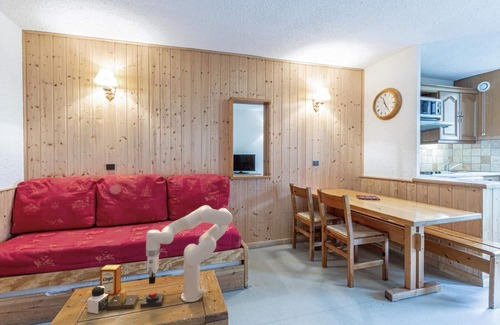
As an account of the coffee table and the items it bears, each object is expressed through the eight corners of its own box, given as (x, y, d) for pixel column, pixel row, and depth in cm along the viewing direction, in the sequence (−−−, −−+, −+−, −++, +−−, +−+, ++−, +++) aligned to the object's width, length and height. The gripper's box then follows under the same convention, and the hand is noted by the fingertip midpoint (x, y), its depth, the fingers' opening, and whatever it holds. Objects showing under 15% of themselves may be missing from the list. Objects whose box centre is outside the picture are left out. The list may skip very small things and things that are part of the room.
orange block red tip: (123, 297, 145) (123, 288, 145) (126, 297, 145) (126, 288, 145) (119, 303, 139) (119, 293, 139) (123, 302, 139) (123, 293, 139)
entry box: (163, 297, 150) (163, 290, 150) (160, 306, 141) (161, 299, 141) (144, 298, 148) (144, 292, 148) (140, 307, 139) (140, 300, 139)
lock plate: (138, 298, 148) (138, 294, 148) (133, 308, 138) (133, 303, 138) (113, 300, 146) (113, 296, 146) (106, 310, 136) (106, 306, 136)
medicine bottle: (98, 314, 133) (98, 292, 133) (87, 312, 134) (87, 290, 134) (108, 306, 140) (108, 285, 140) (97, 304, 141) (97, 283, 141)
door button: (156, 294, 147) (156, 291, 147) (155, 297, 143) (155, 294, 143) (150, 294, 146) (150, 291, 146) (148, 298, 143) (148, 295, 143)
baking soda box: (99, 295, 151) (100, 268, 151) (105, 289, 158) (105, 264, 158) (115, 295, 152) (116, 269, 152) (120, 289, 158) (121, 264, 158)
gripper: (157, 256, 138) (156, 289, 138) (162, 247, 152) (161, 276, 153) (142, 257, 136) (141, 290, 137) (149, 247, 151) (148, 277, 151)
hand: (152, 283), depth 145 cm, fingers closed
